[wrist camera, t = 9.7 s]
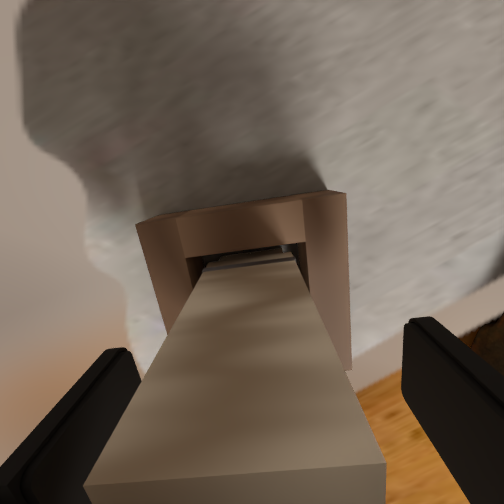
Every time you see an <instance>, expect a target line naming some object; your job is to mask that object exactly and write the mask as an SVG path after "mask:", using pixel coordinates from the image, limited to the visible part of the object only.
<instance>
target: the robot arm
mask: <svg viewBox="0 0 504 504" xmlns="http://www.w3.org/2000/svg"><path fill="white" fill-rule="evenodd" d="M141 382H142V381H141V378H140V376H139V373H138V370H137V367H136V364H135V361H134V359H133V356H132V353H131V352H130V351H127V349H126V348H112V349H107V350H105V351H104V352H103V353H102V354H101V355H100V356H99V358H98V359H97V360H96V361H95V362H94V363H93V364H92V365H91V367H90V368H89V369H88V370H87V371H86V372H85V373H84V374H83V375H82V377H81V378H80V379H79V380H78V381H77V382H76V383H75V384H74V385H73V386H72V388H71V389H70V390H69V391H68V392H67V393H66V394H65V395H64V396H63V398H62V399H61V400H60V401H59V402H58V403H57V404H56V405H55V407H54V408H53V409H52V410H51V411H50V412H49V413H48V414H47V415H46V416H45V418H44V419H43V420H42V421H41V422H40V423H39V424H38V425H37V426H36V428H35V429H34V430H33V431H32V432H31V433H30V434H29V435H28V437H27V438H26V439H25V440H24V441H23V442H22V443H21V444H20V445H19V447H18V448H17V449H16V450H15V451H14V452H13V453H12V454H11V455H10V457H9V458H8V459H7V460H6V461H5V462H4V463H3V464H2V465H1V467H0V504H92V502H91V501H90V499H89V497H88V495H87V493H86V491H85V489H84V487H83V485H84V483H85V481H86V479H87V478H88V476H89V474H90V472H91V470H92V469H93V467H94V465H95V463H96V462H97V460H98V458H99V456H100V454H101V453H102V451H103V449H104V447H105V446H106V444H107V442H108V440H109V438H110V437H111V435H112V433H113V431H114V430H115V428H116V426H117V424H118V422H119V421H120V419H121V417H122V415H123V414H124V412H125V410H126V408H127V406H128V405H129V403H130V401H131V399H132V398H133V396H134V394H135V392H136V390H137V389H138V387H139V385H140V383H141ZM401 390H402V394H403V397H404V399H405V401H406V403H407V404H408V406H409V407H410V409H411V411H412V412H413V414H414V415H415V417H416V419H417V420H418V422H419V423H420V425H421V426H422V428H423V430H424V431H425V433H426V434H427V436H428V437H429V439H430V441H431V442H432V444H433V445H434V447H435V449H436V450H437V452H438V453H439V455H440V456H441V458H442V460H443V461H444V463H445V464H446V466H447V467H448V469H449V471H450V472H451V474H452V475H453V477H454V479H455V480H456V482H457V483H458V485H459V486H460V488H461V490H462V491H463V493H464V494H465V496H466V497H467V499H468V501H469V502H470V504H504V376H503V375H502V374H500V373H499V372H498V371H497V370H496V369H494V368H493V367H492V366H491V365H490V364H488V363H487V362H486V361H485V360H484V359H482V358H481V357H480V356H479V355H478V354H476V353H475V352H474V351H473V350H472V349H470V348H469V347H468V346H467V345H466V344H464V343H463V342H462V341H461V340H460V339H458V338H457V337H456V336H455V335H454V334H452V333H451V332H450V331H449V330H448V329H446V328H445V327H444V326H443V325H441V324H440V323H439V322H438V321H437V320H435V319H434V318H433V317H419V318H411V319H410V320H409V323H407V324H405V325H404V336H403V360H402V381H401Z"/></svg>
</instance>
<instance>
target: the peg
mask: <svg viewBox="0 0 504 504" xmlns="http://www.w3.org/2000/svg"><path fill="white" fill-rule="evenodd" d="M83 487H84V489H85V491H86V493H87V495H88V497H89V499H90V501H91V502H92V504H385V495H386V461H385V459H384V456H383V454H382V452H381V450H380V448H379V445H378V443H377V441H376V439H375V437H374V434H373V432H372V430H371V428H370V425H369V423H368V421H367V419H366V417H365V414H364V412H363V410H362V408H361V406H360V403H359V401H358V399H357V397H356V394H355V392H354V390H353V388H352V386H351V383H350V381H349V379H348V377H347V375H346V372H345V370H344V368H343V366H342V363H341V361H340V359H339V357H338V355H337V352H336V350H335V348H334V346H333V344H332V341H331V339H330V337H329V335H328V332H327V330H326V328H325V326H324V324H323V321H322V319H321V317H320V315H319V313H318V310H317V308H316V306H315V304H314V301H313V299H312V297H311V295H310V293H309V290H308V288H307V286H306V284H305V282H304V279H303V277H302V275H301V273H300V270H299V268H298V266H297V264H296V258H295V257H293V255H292V253H291V252H284V253H283V251H282V248H279V249H271V250H264V251H256V252H248V253H241V254H233V255H226V256H221V258H220V260H219V261H216V262H209V263H208V264H207V266H206V268H204V269H203V270H202V275H201V277H200V279H199V280H198V282H197V284H196V286H195V287H194V289H193V291H192V293H191V295H190V296H189V298H188V300H187V302H186V303H185V305H184V307H183V309H182V311H181V312H180V314H179V316H178V318H177V319H176V321H175V323H174V325H173V327H172V328H171V330H170V332H169V334H168V335H167V337H166V339H165V341H164V342H163V344H162V346H161V348H160V350H159V351H158V353H157V355H156V357H155V358H154V360H153V362H152V364H151V366H150V367H149V369H148V371H147V373H146V374H145V376H144V378H143V380H142V382H141V383H140V385H139V387H138V389H137V390H136V392H135V394H134V396H133V398H132V399H131V401H130V403H129V405H128V406H127V408H126V410H125V412H124V414H123V415H122V417H121V419H120V421H119V422H118V424H117V426H116V428H115V430H114V431H113V433H112V435H111V437H110V438H109V440H108V442H107V444H106V446H105V447H104V449H103V451H102V453H101V454H100V456H99V458H98V460H97V462H96V463H95V465H94V467H93V469H92V470H91V472H90V474H89V476H88V478H87V479H86V481H85V483H84V485H83Z"/></svg>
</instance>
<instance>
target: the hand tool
mask: <svg viewBox="0 0 504 504" xmlns="http://www.w3.org/2000/svg"><path fill="white" fill-rule="evenodd" d="M471 349H472V350H473V351H474V352H475V353H476V354H478V355H479V356H480V357H481V358H482V359H484V360H485V361H486V362H487V363H488V364H490V365H491V366H492V367H493V368H494V369H496V370H497V371H498V372H499V373H500V374H502V375H503V376H504V313H503V314H502V316H501V317H500V319H499V320H498V322H497V323H489V324H485V325H484V326H482V327H481V328H480V329H479V331H478V333H477V335H476V337H475V339H474V342H473V344H472V346H471Z"/></svg>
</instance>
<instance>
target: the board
mask: <svg viewBox="0 0 504 504" xmlns="http://www.w3.org/2000/svg"><path fill="white" fill-rule="evenodd" d="M135 226H136V229H137V233H138V236H139V239H140V243H141V246H142V250H143V253H144V256H145V260H146V263H147V267H148V270H149V273H150V277H151V280H152V284H153V287H154V290H155V294H156V297H157V301H158V304H159V307H160V311H161V314H162V318H163V321H164V324H165V328H166V331H167V335H168V334H169V332H170V330H171V328H172V327H173V325H174V323H175V321H176V319H177V318H178V316H179V314H180V312H181V311H182V309H183V307H184V305H185V303H186V302H187V300H188V298H189V296H190V295H191V293H192V291H193V289H194V287H195V286H196V284H197V282H198V280H199V279H200V277H201V275H202V270H203V269H204V264H203V259H202V256H203V255H211V254H218V253H225V252H233V251H240V250H247V249H255V248H262V247H269V246H277V245H284V244H291V243H298V254H299V264H300V273H301V275H302V277H303V279H304V282H305V284H306V286H307V288H308V290H309V293H310V295H311V297H312V299H313V301H314V304H315V306H316V308H317V310H318V313H319V315H320V317H321V319H322V321H323V324H324V326H325V328H326V330H327V332H328V335H329V337H330V339H331V341H332V344H333V346H334V348H335V350H336V352H337V355H338V357H339V359H340V361H341V363H342V366H343V368H344V370H345V371H347V370H352V354H351V324H350V293H349V263H348V232H347V202H346V193H342V192H337V191H331V190H323V191H317V192H310V193H303V194H296V195H290V196H283V197H276V198H270V199H263V200H256V201H250V202H243V203H236V204H229V205H223V206H216V207H209V208H203V209H196V210H189V211H183V212H176V213H169V214H162V215H158V216H155V217H153V218H150V219H148V220H145V221H143V222H140V223H138V224H135Z"/></svg>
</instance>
